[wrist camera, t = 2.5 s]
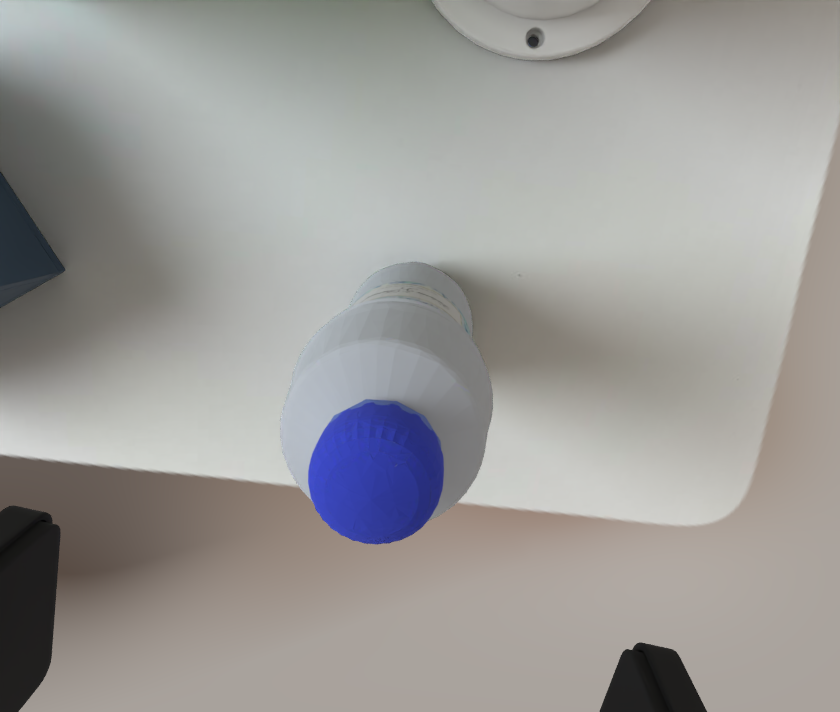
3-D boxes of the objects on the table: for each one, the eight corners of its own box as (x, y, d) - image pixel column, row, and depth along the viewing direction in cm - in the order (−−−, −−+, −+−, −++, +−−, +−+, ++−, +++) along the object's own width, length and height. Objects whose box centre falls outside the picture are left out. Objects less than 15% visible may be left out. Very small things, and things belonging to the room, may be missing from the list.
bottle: (485, 264, 32) (541, 387, 13) (462, 383, 34) (483, 641, 15) (359, 243, 32) (234, 336, 13) (343, 363, 34) (214, 597, 15)
